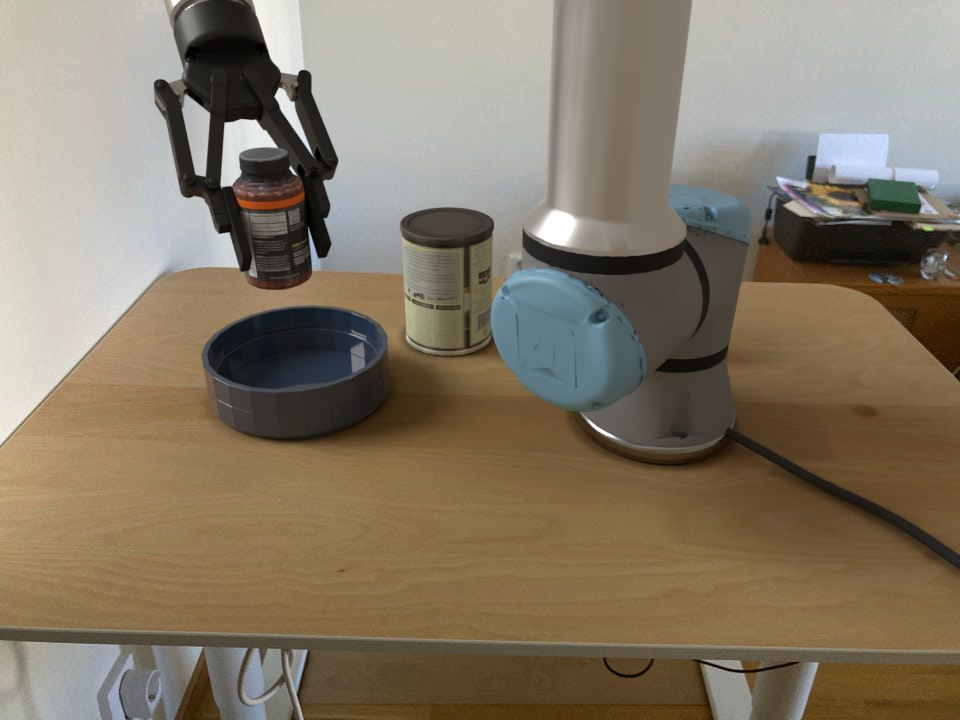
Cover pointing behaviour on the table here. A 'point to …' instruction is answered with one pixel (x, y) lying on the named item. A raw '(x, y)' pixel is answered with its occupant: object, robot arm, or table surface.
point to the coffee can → (447, 280)
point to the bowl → (297, 371)
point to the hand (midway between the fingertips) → (286, 257)
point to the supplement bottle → (273, 219)
